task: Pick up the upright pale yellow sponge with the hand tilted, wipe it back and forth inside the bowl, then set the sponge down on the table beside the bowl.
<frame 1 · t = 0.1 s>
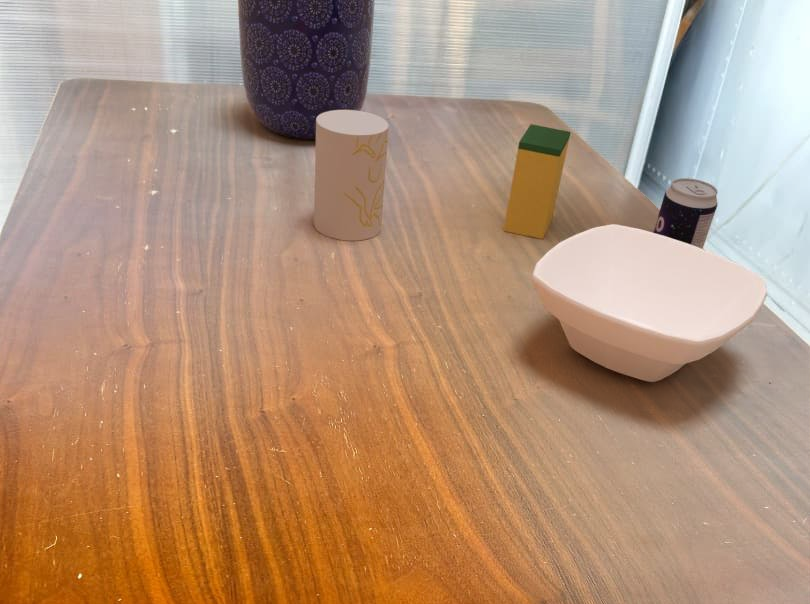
bowl: (628, 355, 91), on the table
planter: (304, 127, 131), on the table
beige patterned cylinder: (347, 227, 107), on the table
beverage can: (661, 292, 102), on the table
sponge: (528, 224, 112), on the table
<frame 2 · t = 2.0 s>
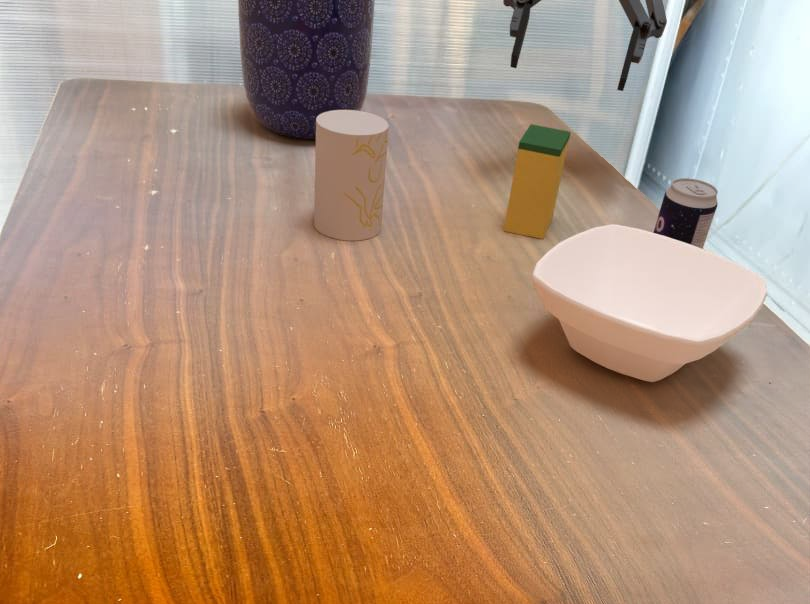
hand: (567, 73, 108), 15 cm above the table, tool tilted 45°, fingers open, 13 cm apart
nothing on the table moved.
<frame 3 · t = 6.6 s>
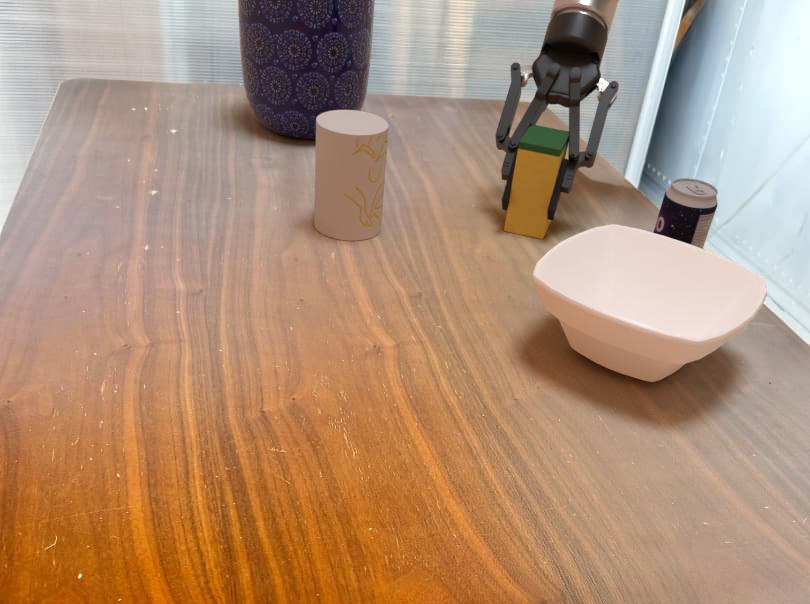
hand: (527, 209, 107), 3 cm above the table, tool tilted 45°, fingers closed on sponge, 5 cm apart
sponge: (528, 224, 112), on the table, touching gripper
everything else where it was.
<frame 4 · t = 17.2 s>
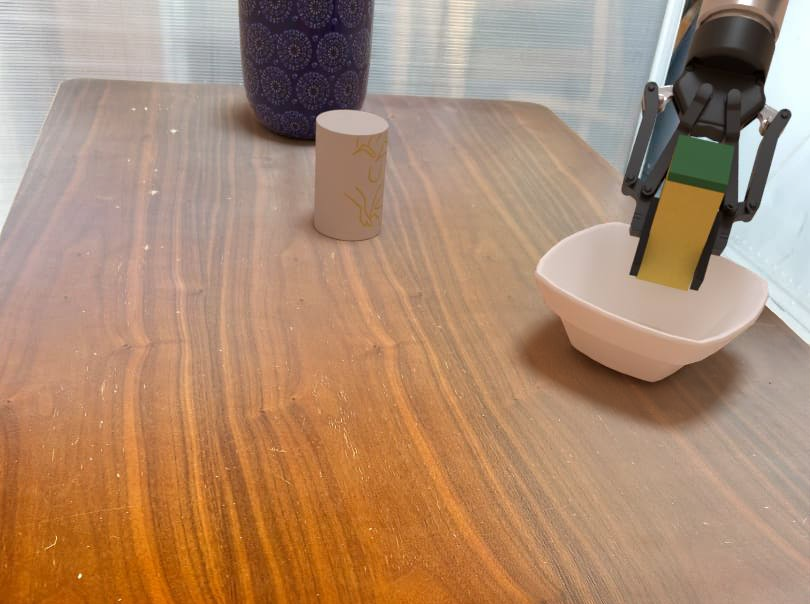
hand: (665, 277, 81), 10 cm above the table, tool tilted 45°, fingers closed on sponge, 5 cm apart
bowl: (628, 354, 91), on the table, touching sponge
sponge: (665, 264, 85), point 9 cm above the table, tilted 9°, touching bowl, gripper
everything else where it was.
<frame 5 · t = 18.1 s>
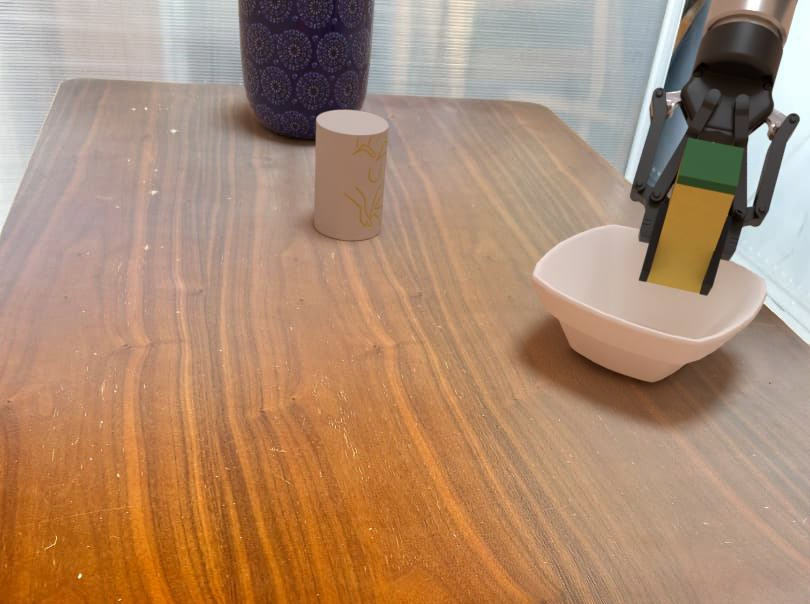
hand: (675, 282, 81), 10 cm above the table, tool tilted 45°, fingers closed on sponge, 5 cm apart
sponge: (677, 267, 85), point 9 cm above the table, tilted 9°, touching bowl, gripper
everything else where it was.
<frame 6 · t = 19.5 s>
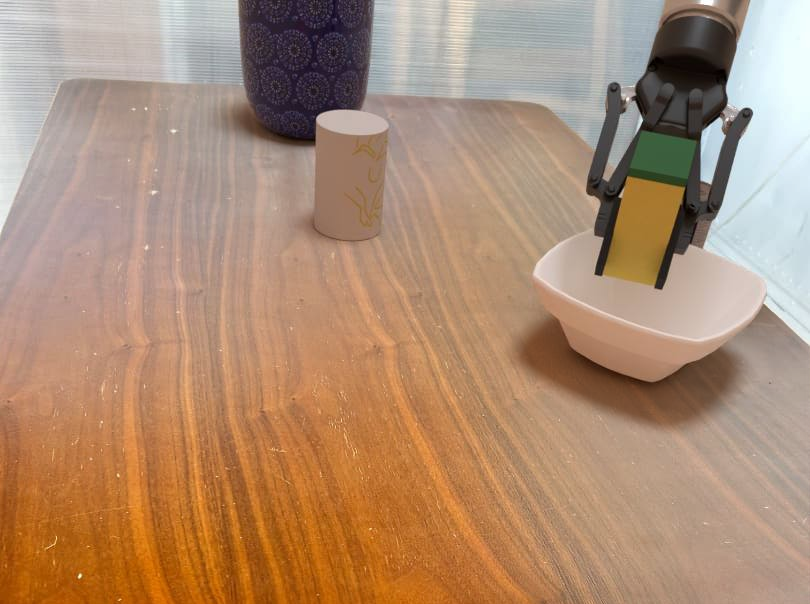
hand: (629, 276, 81), 10 cm above the table, tool tilted 45°, fingers closed on sponge, 5 cm apart
bowl: (628, 355, 91), on the table
sponge: (634, 260, 86), point 9 cm above the table, tilted 9°, touching gripper
everything else where it was.
when the fingers open (1 cm above the table, at t = 30.2 s): sponge stays where it is, on the table.
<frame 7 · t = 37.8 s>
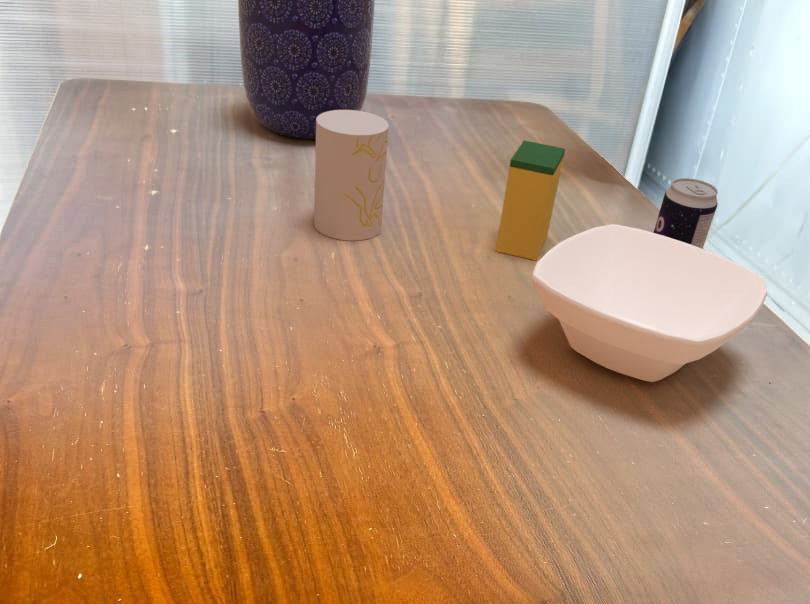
sponge: (521, 244, 108), on the table
everything else where it was.
at the end: sponge inside the target area (1.3 cm from its centre), on the table; sponge tilted 0°; bowl moved 0.2 cm from its start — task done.
